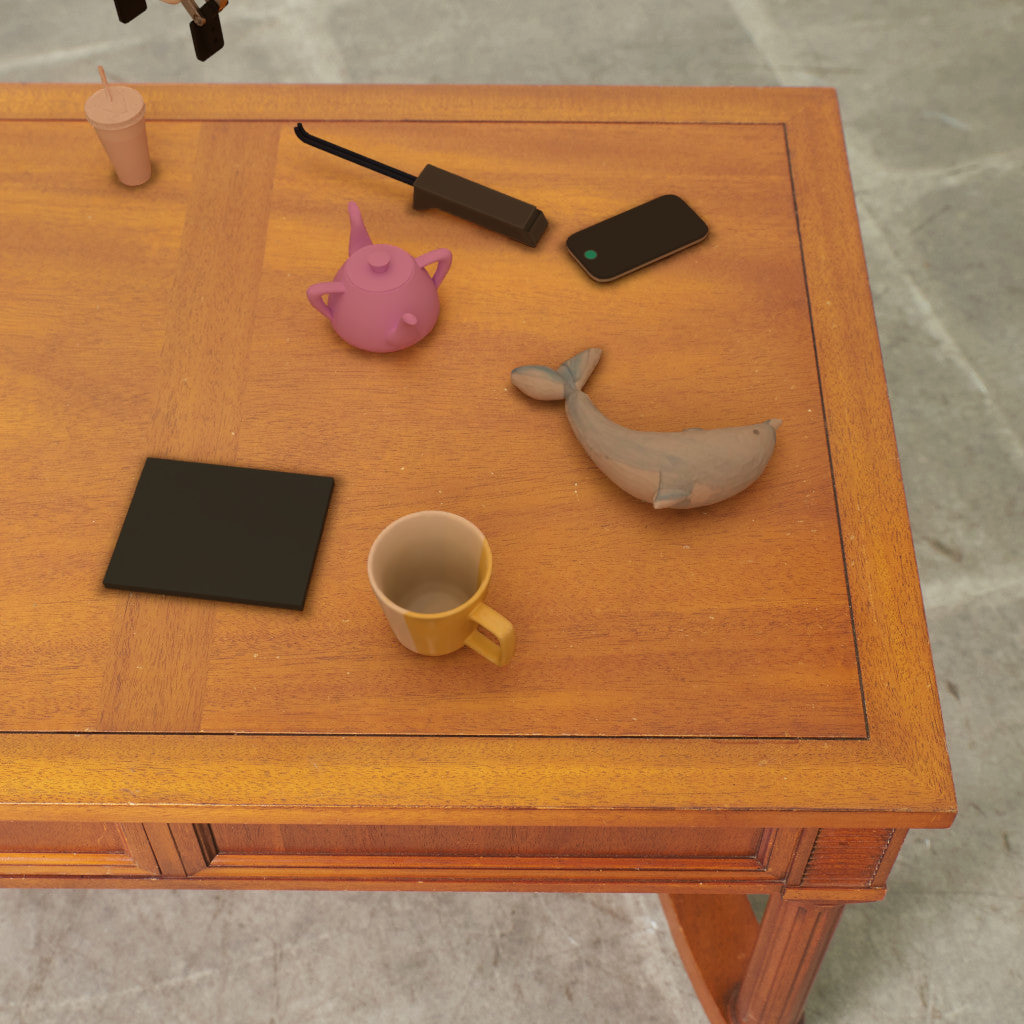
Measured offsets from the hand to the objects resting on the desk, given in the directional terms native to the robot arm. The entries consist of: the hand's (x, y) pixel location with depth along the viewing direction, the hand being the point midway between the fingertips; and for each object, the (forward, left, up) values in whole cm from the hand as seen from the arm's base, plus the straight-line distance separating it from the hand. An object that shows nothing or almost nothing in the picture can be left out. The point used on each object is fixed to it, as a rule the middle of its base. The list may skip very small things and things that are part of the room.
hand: (172, 34), depth 120 cm
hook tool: (+21, +8, -24) cm, 33 cm away
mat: (+11, -39, -24) cm, 47 cm away
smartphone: (+46, +4, -24) cm, 52 cm away
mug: (+33, -47, -24) cm, 62 cm away
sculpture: (+49, -21, -24) cm, 58 cm away
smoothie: (-11, +7, -24) cm, 28 cm away
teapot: (+21, -11, -24) cm, 34 cm away
